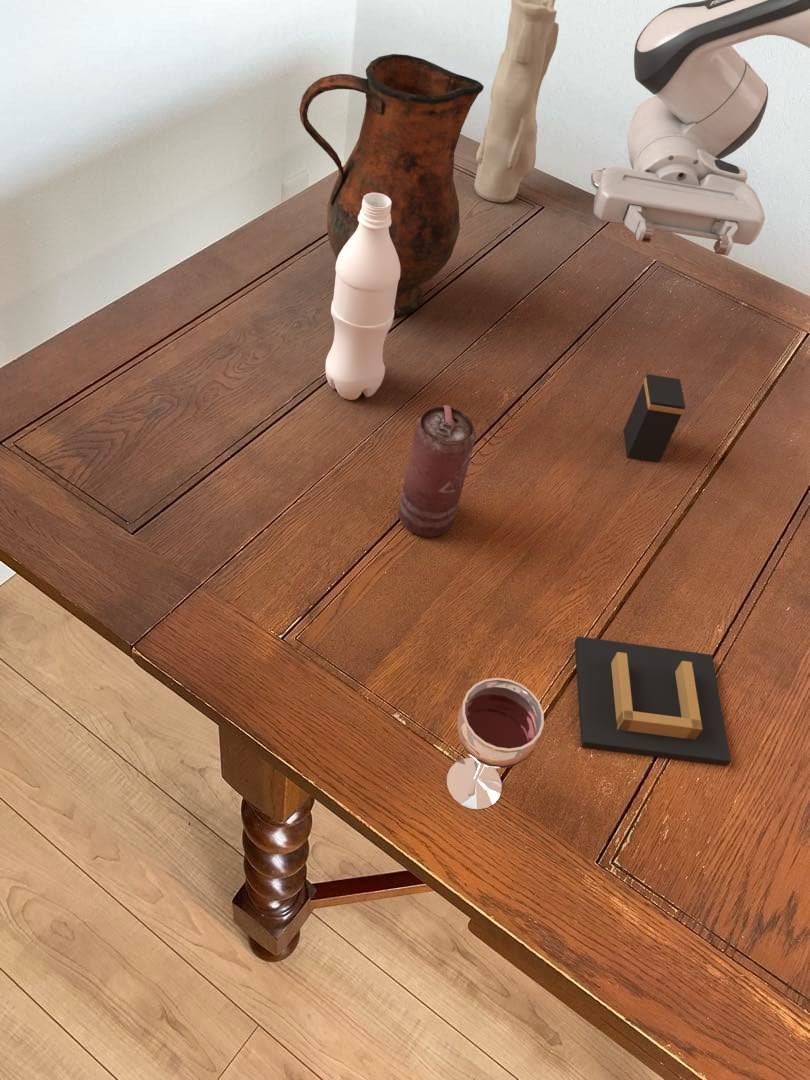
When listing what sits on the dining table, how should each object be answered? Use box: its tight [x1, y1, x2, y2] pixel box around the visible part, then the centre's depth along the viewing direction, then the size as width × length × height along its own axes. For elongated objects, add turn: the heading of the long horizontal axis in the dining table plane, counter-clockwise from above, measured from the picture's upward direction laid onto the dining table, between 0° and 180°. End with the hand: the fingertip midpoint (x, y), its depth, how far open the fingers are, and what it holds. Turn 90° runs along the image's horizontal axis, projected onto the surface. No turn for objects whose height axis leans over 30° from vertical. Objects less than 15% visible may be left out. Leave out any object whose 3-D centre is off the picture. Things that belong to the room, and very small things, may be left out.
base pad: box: [574, 636, 732, 767], centre depth 93 cm, size 14×12×3 cm
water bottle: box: [324, 193, 401, 401], centre depth 109 cm, size 7×7×25 cm
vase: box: [474, 0, 560, 203], centre depth 143 cm, size 9×8×30 cm
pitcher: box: [298, 53, 485, 318], centre depth 120 cm, size 17×21×30 cm
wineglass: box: [446, 677, 545, 810], centre depth 81 cm, size 7×7×12 cm
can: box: [397, 404, 477, 538], centre depth 101 cm, size 6×6×14 cm
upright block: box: [623, 373, 686, 463], centre depth 115 cm, size 4×5×9 cm
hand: (685, 243), depth 112 cm, fingers open, 8 cm apart
